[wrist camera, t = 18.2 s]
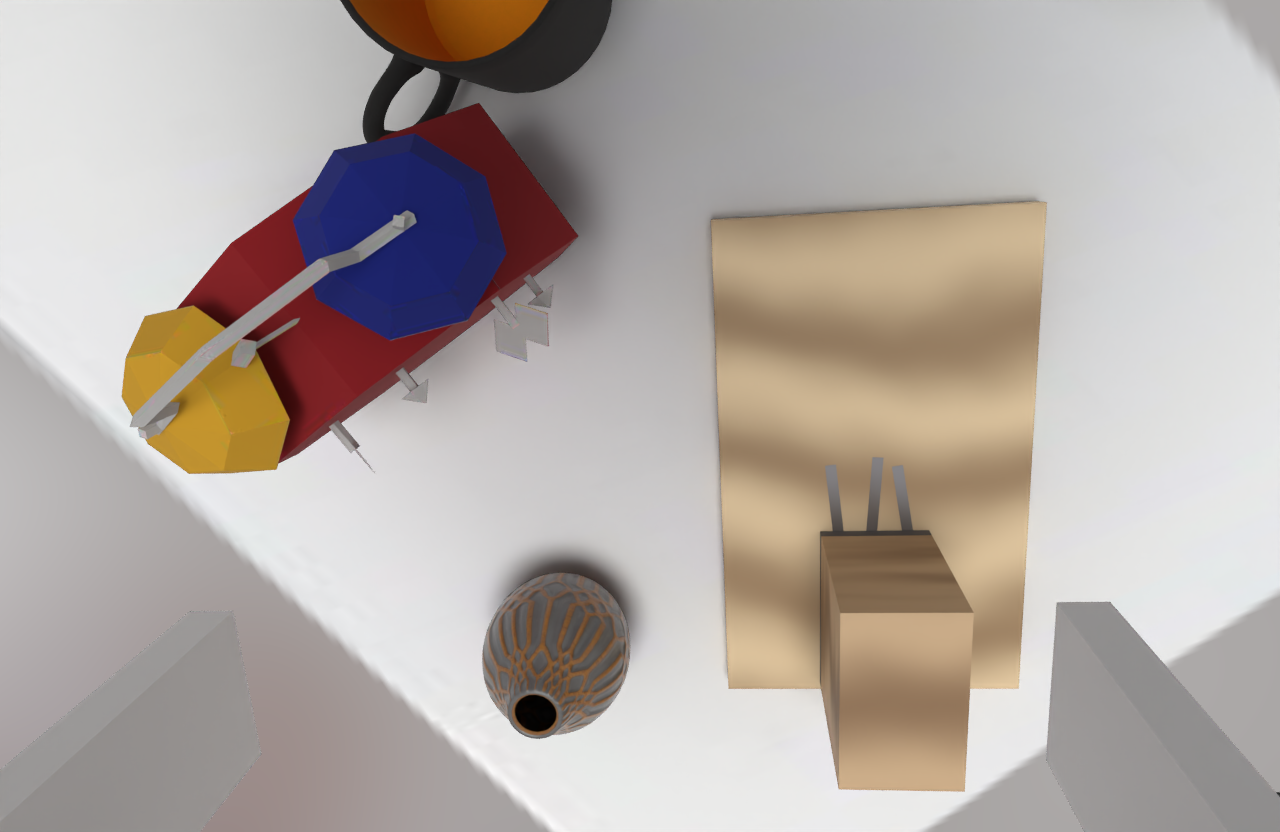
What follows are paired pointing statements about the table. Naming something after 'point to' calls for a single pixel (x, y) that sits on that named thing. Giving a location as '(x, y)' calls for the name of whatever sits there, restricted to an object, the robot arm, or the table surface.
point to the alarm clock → (346, 296)
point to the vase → (556, 654)
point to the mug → (476, 45)
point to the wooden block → (894, 661)
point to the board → (874, 413)
